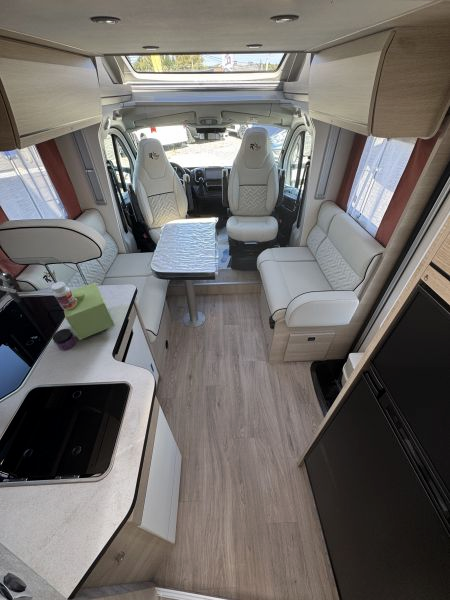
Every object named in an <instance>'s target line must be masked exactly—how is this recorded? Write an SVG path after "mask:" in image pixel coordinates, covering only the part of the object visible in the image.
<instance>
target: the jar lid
mask: <svg viewBox="0 0 450 600" xmlns="http://www.w3.org/2000/svg"><path fill="white" fill-rule="evenodd" d="M72 333H73V332H72V331H71V329H69V328H62V329H59V330H57V331H56V332H55V333H54V334H53V335H52V341H53V342H55V343H58V344H60V343H64V342H66V341H68V340H69V339H70V338H71V337H72ZM55 343H54V344H55Z"/></svg>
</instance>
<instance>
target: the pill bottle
mask: <svg viewBox="0 0 450 600" xmlns="http://www.w3.org/2000/svg"><path fill="white" fill-rule="evenodd" d="M50 289H51V290H52V292H53V293H52V294H53V297H54V298H55V300H56V301H57V303H58V304H59V307H61V309H62V310H64V309H65V310H68V309H72V308H73V307H75V306H76V304H77V302H76V300H75V298H74V296H73V295H72V293H71V289H70V288H69V287H68V286H67V285H66V283H65V281H58V282H54V283H53V284H52V285H51V286H50Z"/></svg>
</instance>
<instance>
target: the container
mask: <svg viewBox="0 0 450 600" xmlns="http://www.w3.org/2000/svg"><path fill="white" fill-rule="evenodd" d="M70 291H71V293H72V295H73V296H74V298H75V300H76V302H77V304H76V306H75V307H73V308H72V309H68V310H65V309H63V313H64V318H65V320H66V321H67V323H68V324H69V325H70V328H71V329H72V330H73V333H74V335H76V338H78V340H79V341H80V340H83V339H85V338H88V337H91V336H93V335H95V334H97V333H101V332H102V331H105V330H108V329H110V328H112V327H114V326H116V325H115V322H114V320H113V317H112V315H111V313H110V311H109V309H108V307H107V304H106V301H105V299H104V297H103V296H102V293H101V291H100V289H99V287H98V285H97V282H92V283H89V284H86V285H83V286H80V287H77V288H74V289H70Z"/></svg>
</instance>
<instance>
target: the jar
mask: <svg viewBox="0 0 450 600" xmlns="http://www.w3.org/2000/svg"><path fill="white" fill-rule="evenodd" d="M53 342H54V341H53ZM77 342H78V339H77V336H75V333H74V332H72V337H71V338H70V339H69V340H68V341H66V342H64V343H60V344H58V343H55V342H54V344H55V346H56V347H57V348H58V350H60V351H68V350H70V349H72V348H73V347H75V345H76V344H77Z"/></svg>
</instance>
